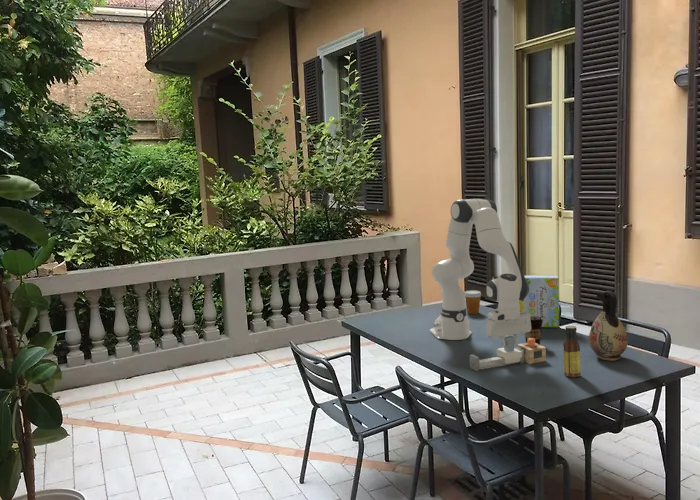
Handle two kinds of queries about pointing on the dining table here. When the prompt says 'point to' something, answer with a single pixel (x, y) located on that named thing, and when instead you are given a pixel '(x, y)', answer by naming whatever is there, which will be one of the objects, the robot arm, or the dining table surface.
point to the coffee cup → (535, 329)
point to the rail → (491, 361)
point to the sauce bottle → (571, 353)
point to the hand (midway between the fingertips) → (509, 344)
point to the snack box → (542, 299)
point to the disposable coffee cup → (472, 301)
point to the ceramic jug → (608, 330)
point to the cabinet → (533, 353)
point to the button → (530, 342)
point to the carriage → (509, 351)
